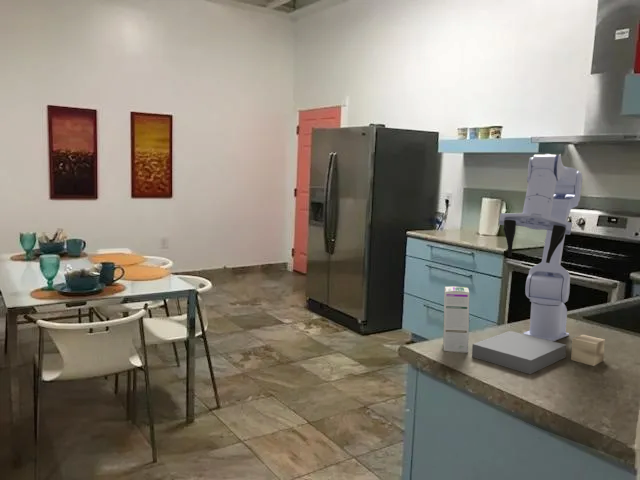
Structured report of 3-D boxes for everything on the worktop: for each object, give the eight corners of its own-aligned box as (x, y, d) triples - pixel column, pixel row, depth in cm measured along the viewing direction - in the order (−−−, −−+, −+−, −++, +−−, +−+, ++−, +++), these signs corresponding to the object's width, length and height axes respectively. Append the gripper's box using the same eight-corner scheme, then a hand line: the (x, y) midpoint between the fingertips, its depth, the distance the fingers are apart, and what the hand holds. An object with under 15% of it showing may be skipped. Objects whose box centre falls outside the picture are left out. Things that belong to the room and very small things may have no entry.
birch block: (580, 355, 127) (582, 334, 127) (603, 361, 124) (605, 339, 123) (570, 360, 124) (572, 338, 123) (593, 366, 120) (595, 344, 120)
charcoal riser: (509, 342, 136) (509, 330, 136) (565, 357, 126) (566, 344, 125) (471, 356, 125) (472, 344, 125) (530, 374, 115) (530, 360, 115)
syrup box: (468, 353, 128) (471, 291, 126) (442, 351, 129) (444, 290, 127) (467, 345, 133) (469, 286, 132) (442, 343, 135) (444, 285, 133)
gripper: (504, 188, 120) (492, 243, 115) (577, 197, 115) (568, 255, 110) (503, 204, 126) (492, 257, 121) (572, 213, 121) (564, 269, 116)
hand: (528, 257), depth 116 cm, fingers open, 7 cm apart
